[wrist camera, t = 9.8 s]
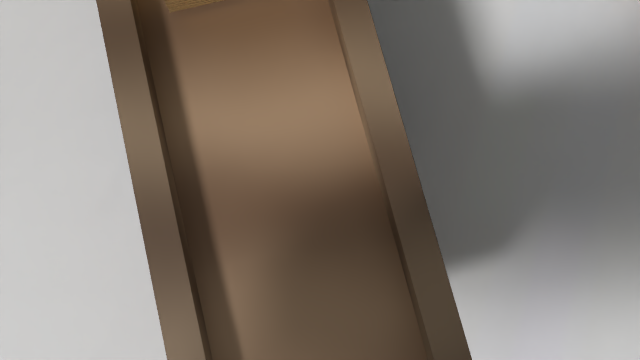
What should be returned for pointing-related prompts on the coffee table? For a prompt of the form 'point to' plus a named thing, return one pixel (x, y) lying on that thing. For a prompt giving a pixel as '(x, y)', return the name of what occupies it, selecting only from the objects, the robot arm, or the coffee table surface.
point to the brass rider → (186, 4)
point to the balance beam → (276, 184)
